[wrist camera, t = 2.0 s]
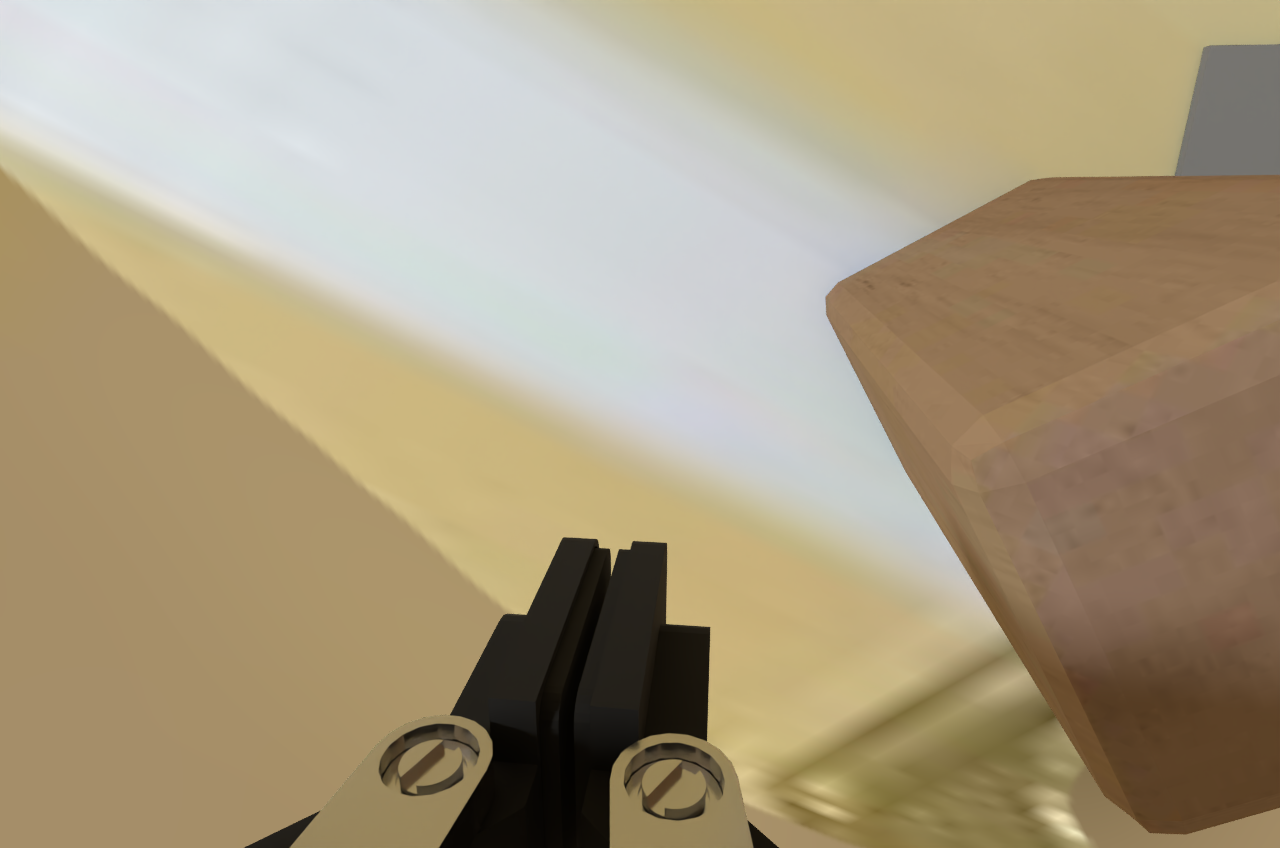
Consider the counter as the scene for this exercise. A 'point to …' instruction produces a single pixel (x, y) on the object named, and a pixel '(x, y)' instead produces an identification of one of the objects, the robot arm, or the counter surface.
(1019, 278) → the block
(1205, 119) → the mat
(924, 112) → the counter surface
